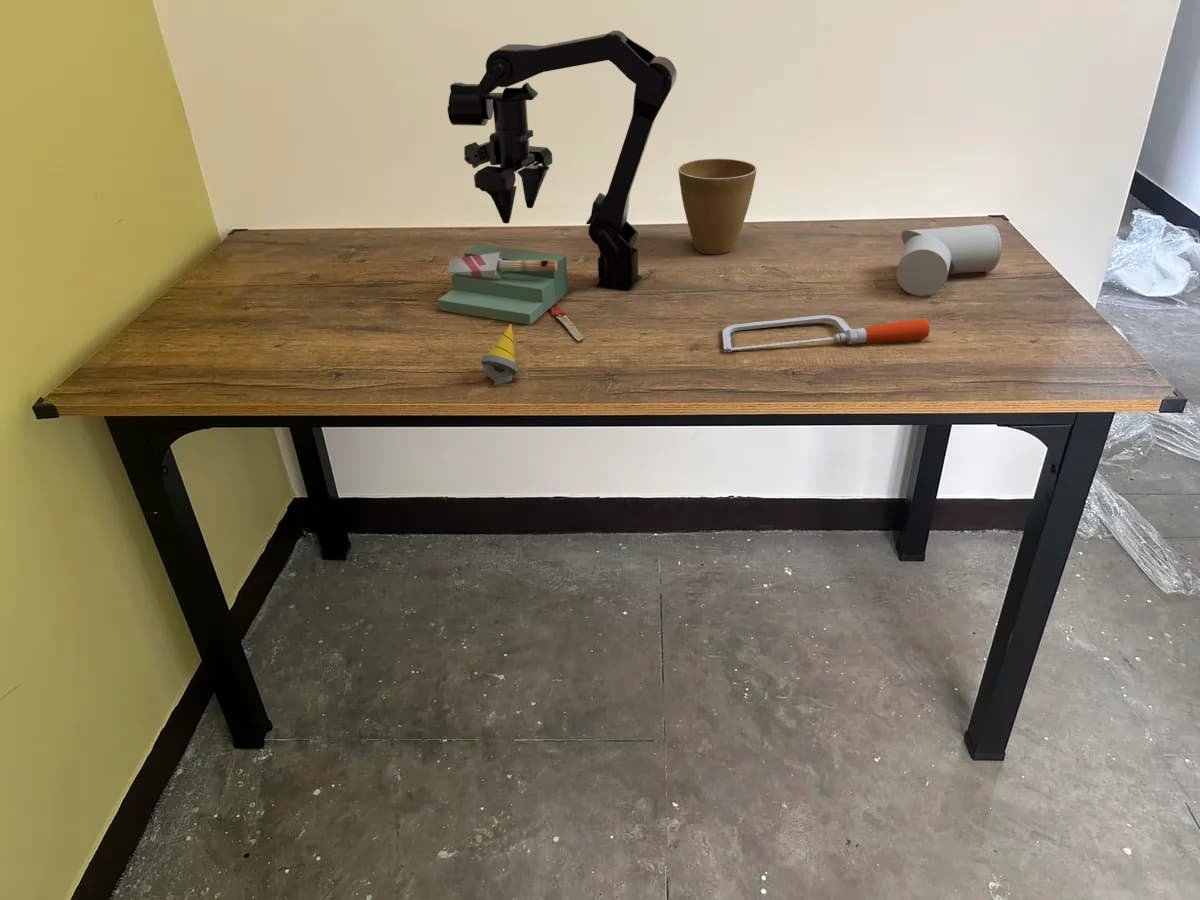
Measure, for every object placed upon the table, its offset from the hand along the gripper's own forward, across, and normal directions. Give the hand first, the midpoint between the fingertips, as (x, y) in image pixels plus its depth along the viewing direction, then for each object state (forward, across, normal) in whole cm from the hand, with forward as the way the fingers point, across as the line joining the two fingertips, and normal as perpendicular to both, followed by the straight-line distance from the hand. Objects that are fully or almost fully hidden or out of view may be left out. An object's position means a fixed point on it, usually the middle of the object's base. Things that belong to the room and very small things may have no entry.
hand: (518, 215), depth 161 cm
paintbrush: (+7, +10, +2) cm, 12 cm away
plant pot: (+12, -27, +29) cm, 41 cm away
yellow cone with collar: (+12, +36, +15) cm, 41 cm away
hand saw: (+12, +6, +57) cm, 58 cm away
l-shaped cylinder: (+12, -26, +73) cm, 79 cm away
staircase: (+12, +11, +2) cm, 16 cm away
